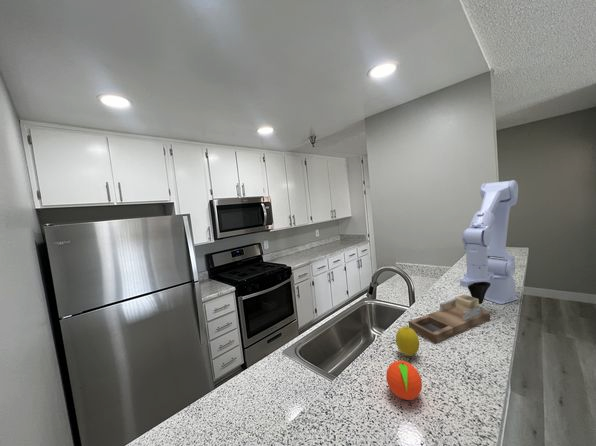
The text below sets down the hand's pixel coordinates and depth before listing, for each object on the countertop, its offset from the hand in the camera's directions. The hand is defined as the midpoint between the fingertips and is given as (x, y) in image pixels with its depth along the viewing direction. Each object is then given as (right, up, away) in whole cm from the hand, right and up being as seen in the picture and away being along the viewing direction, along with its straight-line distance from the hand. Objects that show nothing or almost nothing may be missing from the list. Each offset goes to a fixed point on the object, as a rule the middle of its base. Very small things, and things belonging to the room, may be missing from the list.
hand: (478, 302), depth 79 cm
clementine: (-38, -10, -30) cm, 50 cm away
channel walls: (-8, -2, -3) cm, 9 cm away
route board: (-13, -5, -5) cm, 15 cm away
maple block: (-5, -2, -2) cm, 6 cm away
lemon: (-32, -8, -18) cm, 37 cm away
